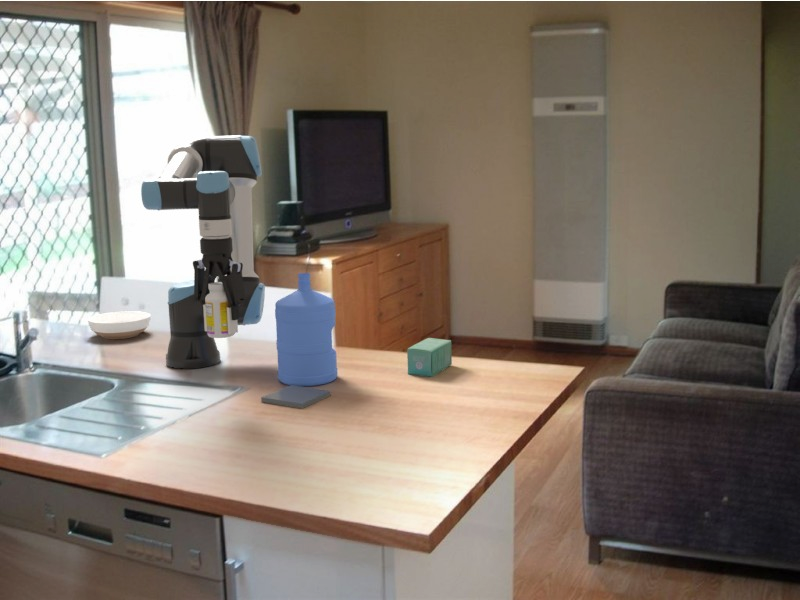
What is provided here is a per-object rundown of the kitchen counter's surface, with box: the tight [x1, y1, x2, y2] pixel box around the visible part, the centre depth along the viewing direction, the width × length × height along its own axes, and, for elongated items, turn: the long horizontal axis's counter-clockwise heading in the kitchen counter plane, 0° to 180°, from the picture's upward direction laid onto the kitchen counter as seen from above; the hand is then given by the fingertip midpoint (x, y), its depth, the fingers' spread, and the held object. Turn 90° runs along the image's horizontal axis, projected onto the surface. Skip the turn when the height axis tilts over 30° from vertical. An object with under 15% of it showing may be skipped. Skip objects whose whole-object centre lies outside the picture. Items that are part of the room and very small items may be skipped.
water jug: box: [274, 272, 338, 387], centre depth 236 cm, size 16×16×28 cm
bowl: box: [88, 310, 151, 340], centre depth 295 cm, size 20×20×6 cm
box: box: [406, 337, 453, 378], centre depth 245 cm, size 7×14×8 cm, turn 153°
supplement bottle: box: [205, 281, 236, 339], centre depth 218 cm, size 7×7×13 cm
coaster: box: [261, 385, 332, 409], centre depth 221 cm, size 12×12×1 cm
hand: (221, 331), depth 219 cm, fingers closed on supplement bottle, 7 cm apart
